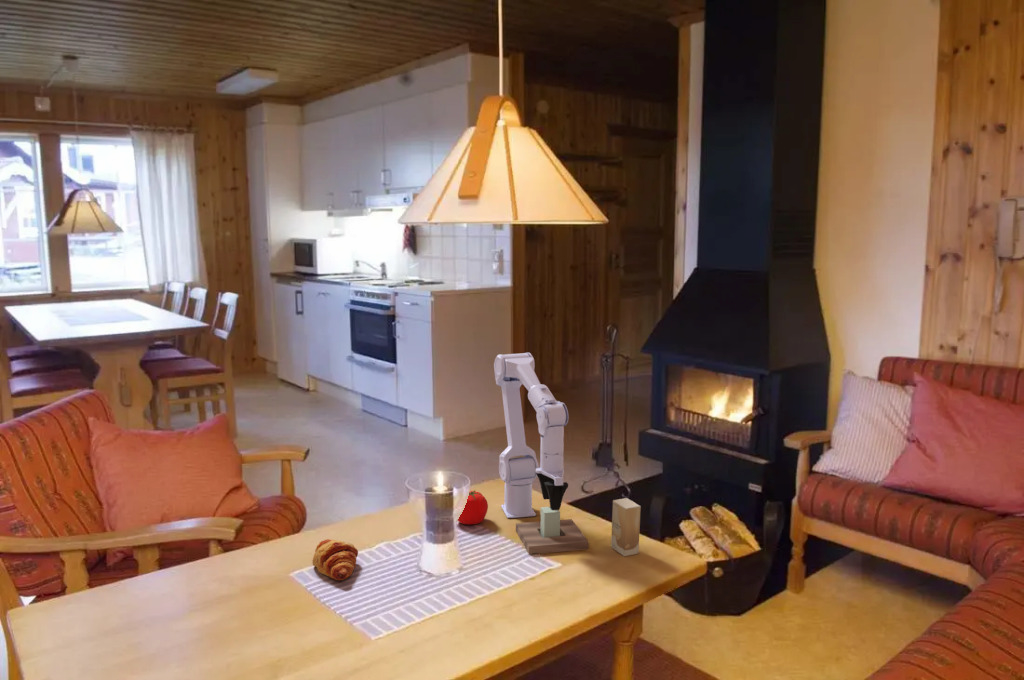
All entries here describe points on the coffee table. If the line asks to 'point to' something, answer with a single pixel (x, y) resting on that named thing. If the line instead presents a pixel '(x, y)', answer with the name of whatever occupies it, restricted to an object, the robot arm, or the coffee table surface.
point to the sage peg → (550, 522)
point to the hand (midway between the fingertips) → (551, 504)
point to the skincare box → (625, 526)
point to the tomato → (474, 509)
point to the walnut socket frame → (551, 538)
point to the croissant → (335, 559)
